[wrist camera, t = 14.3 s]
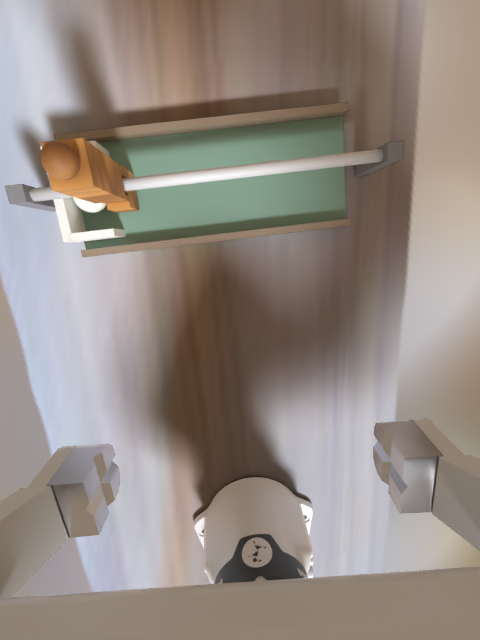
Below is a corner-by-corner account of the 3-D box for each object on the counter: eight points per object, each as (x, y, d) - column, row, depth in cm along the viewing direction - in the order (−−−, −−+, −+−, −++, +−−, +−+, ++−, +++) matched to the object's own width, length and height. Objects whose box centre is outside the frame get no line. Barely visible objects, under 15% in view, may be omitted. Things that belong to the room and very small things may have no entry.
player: (142, 210, 37) (81, 186, 21) (116, 213, 37) (36, 191, 21) (135, 173, 36) (66, 119, 20) (109, 176, 36) (19, 124, 20)
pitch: (367, 223, 40) (402, 218, 32) (65, 259, 39) (26, 263, 31) (366, 108, 37) (404, 72, 29) (36, 144, 36) (-15, 117, 28)
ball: (69, 213, 34) (89, 215, 37) (98, 209, 33) (117, 211, 37) (60, 178, 33) (82, 183, 36) (90, 172, 32) (110, 178, 36)
